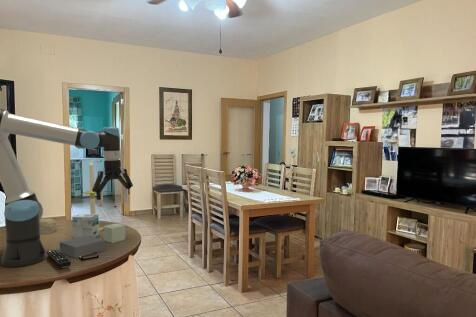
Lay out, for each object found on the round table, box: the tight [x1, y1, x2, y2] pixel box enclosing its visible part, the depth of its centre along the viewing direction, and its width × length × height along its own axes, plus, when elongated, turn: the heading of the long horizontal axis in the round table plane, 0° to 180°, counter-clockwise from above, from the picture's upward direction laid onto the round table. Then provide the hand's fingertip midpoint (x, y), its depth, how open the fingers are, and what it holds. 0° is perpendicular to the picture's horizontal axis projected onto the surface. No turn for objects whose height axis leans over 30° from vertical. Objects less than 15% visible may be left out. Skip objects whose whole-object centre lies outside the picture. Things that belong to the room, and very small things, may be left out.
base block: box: [59, 235, 106, 260], centre depth 152 cm, size 13×13×5 cm
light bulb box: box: [71, 213, 100, 239], centre depth 175 cm, size 11×7×11 cm, turn 84°
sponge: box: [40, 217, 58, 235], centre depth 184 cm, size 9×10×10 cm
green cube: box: [102, 222, 126, 244], centre depth 168 cm, size 7×7×7 cm
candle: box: [83, 160, 104, 232], centre depth 186 cm, size 10×10×38 cm
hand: (114, 204), depth 167 cm, fingers open, 13 cm apart
